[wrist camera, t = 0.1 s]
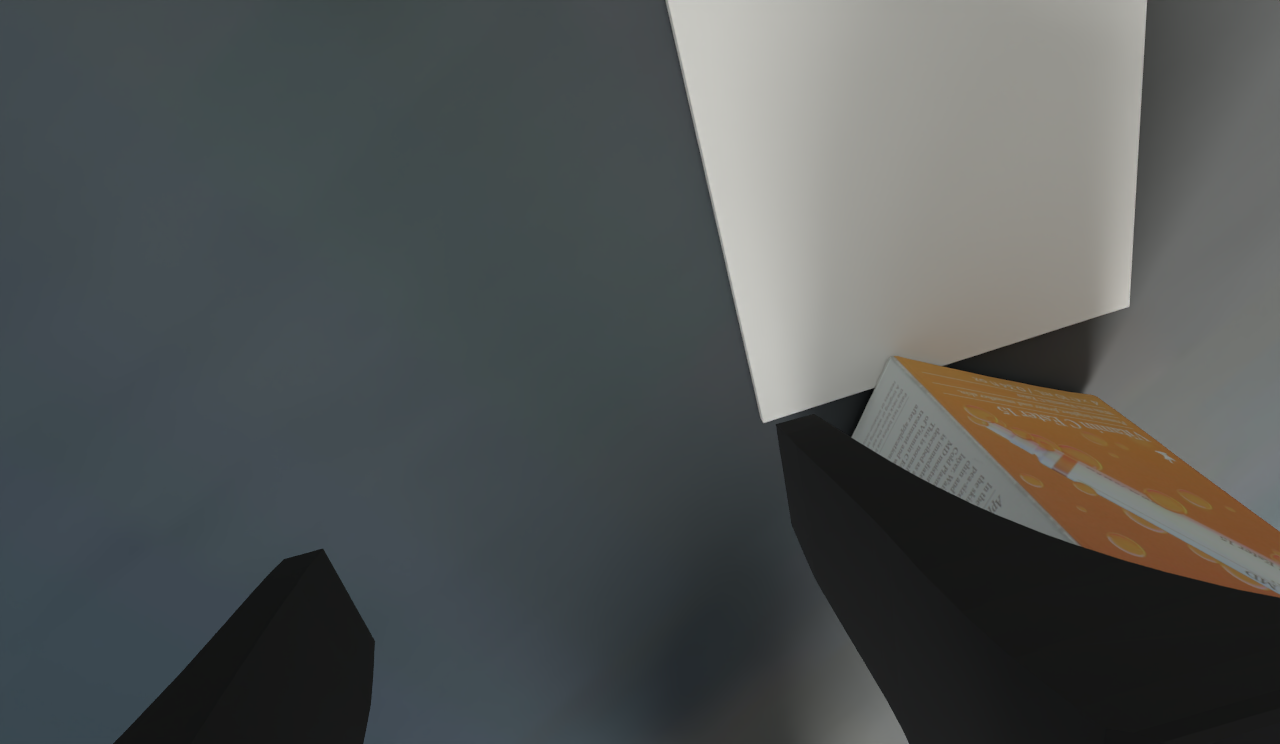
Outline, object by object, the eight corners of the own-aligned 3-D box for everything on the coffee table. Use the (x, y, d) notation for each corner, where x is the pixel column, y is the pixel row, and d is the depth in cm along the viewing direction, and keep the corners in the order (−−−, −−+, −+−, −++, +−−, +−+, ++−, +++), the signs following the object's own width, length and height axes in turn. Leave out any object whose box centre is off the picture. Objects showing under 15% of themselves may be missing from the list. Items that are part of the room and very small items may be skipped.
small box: (1096, 390, 25) (1597, 754, 13) (1003, 537, 27) (1354, 941, 16) (886, 347, 22) (1275, 739, 11) (808, 511, 25) (1056, 958, 14)
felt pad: (1122, 302, 23) (1129, 306, 23) (760, 418, 23) (763, 423, 23) (1148, -193, 17) (1158, -196, 17) (656, -39, 17) (658, -39, 17)
